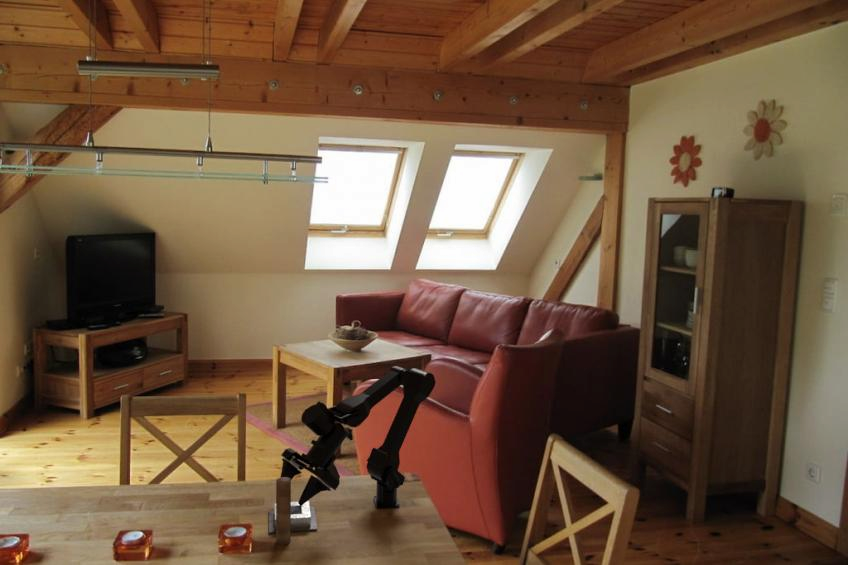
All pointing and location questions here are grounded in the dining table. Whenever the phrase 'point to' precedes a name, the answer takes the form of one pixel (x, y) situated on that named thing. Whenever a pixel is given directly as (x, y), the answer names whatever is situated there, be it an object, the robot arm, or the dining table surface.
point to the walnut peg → (283, 510)
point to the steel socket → (296, 518)
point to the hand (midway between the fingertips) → (289, 497)
